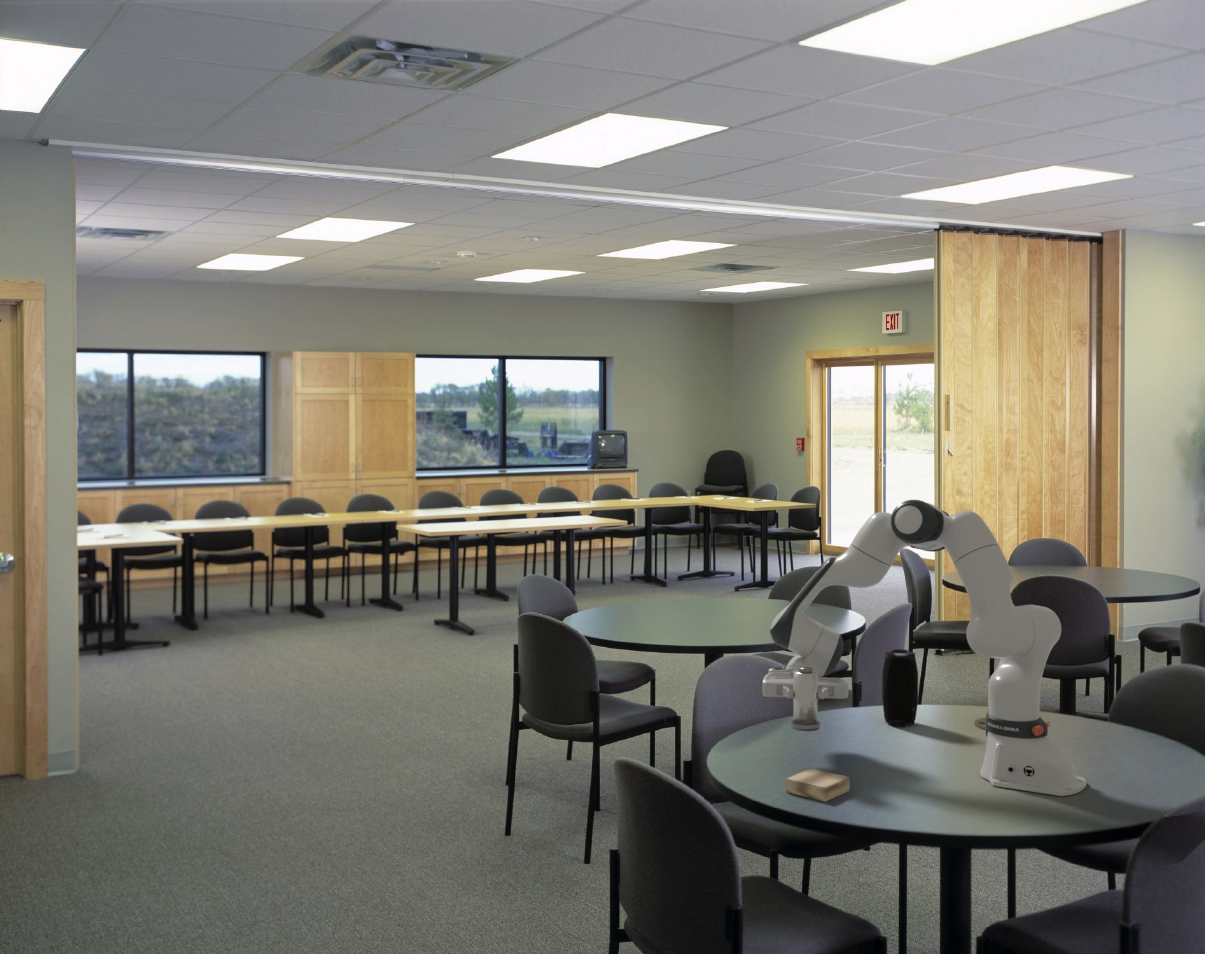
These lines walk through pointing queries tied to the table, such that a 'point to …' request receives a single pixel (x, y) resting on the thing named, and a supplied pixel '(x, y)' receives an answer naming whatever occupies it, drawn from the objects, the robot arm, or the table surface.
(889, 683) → the portable speaker
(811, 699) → the cylinder
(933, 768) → the table surface
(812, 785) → the stand
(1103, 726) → the table surface
